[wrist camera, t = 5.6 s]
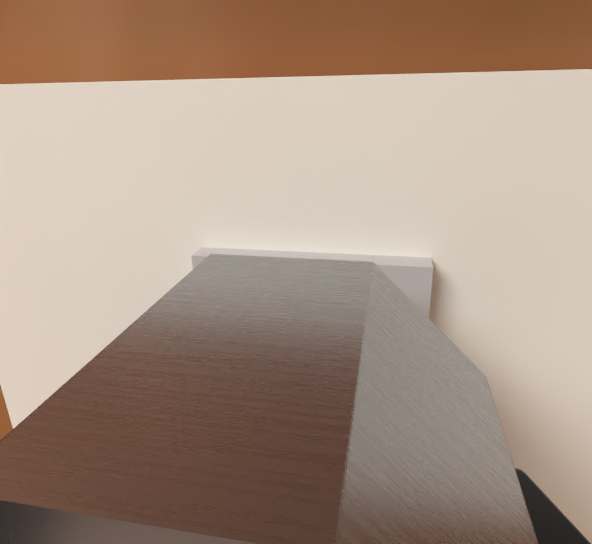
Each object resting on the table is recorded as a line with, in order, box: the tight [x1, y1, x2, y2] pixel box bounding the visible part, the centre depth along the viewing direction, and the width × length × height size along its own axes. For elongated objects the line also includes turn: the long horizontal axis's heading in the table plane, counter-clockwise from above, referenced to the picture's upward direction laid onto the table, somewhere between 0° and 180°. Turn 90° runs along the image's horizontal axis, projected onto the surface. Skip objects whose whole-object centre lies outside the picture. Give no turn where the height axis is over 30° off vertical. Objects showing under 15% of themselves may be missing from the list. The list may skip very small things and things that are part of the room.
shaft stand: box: [0, 69, 592, 544], centre depth 9 cm, size 18×12×7 cm, turn 91°
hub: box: [0, 254, 538, 544], centre depth 6 cm, size 6×6×5 cm
